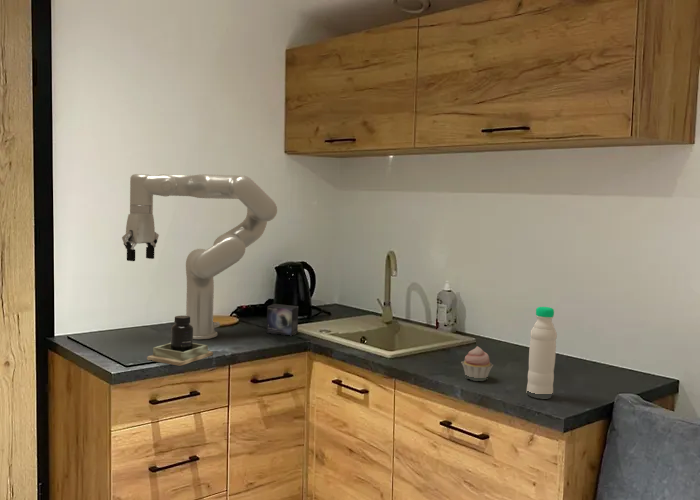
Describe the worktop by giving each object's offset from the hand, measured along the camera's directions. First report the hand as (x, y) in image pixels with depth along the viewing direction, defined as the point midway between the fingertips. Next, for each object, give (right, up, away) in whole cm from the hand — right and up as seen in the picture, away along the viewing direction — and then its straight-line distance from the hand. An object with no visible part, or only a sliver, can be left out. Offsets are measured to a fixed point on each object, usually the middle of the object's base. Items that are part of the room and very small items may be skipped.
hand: (140, 259), depth 236 cm
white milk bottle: (+125, -38, -46) cm, 139 cm away
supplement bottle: (+19, -30, -19) cm, 40 cm away
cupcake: (+110, -36, -31) cm, 120 cm away
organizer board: (+19, -31, -19) cm, 41 cm away
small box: (+47, -28, +20) cm, 58 cm away
